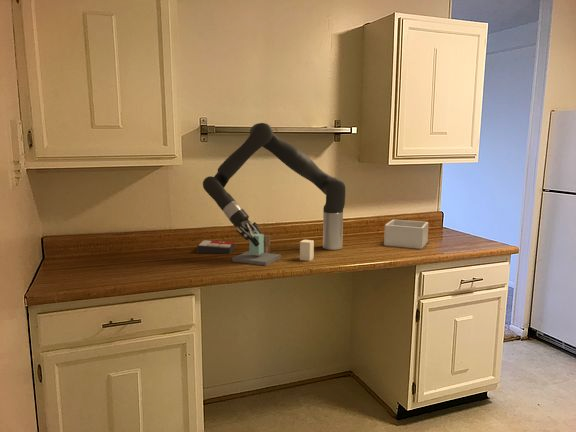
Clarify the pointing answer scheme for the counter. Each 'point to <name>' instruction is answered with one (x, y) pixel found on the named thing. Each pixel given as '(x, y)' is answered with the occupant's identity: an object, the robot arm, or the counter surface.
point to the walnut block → (267, 244)
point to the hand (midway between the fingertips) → (260, 244)
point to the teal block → (260, 247)
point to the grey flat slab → (256, 258)
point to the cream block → (306, 250)
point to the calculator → (215, 247)
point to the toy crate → (406, 234)
